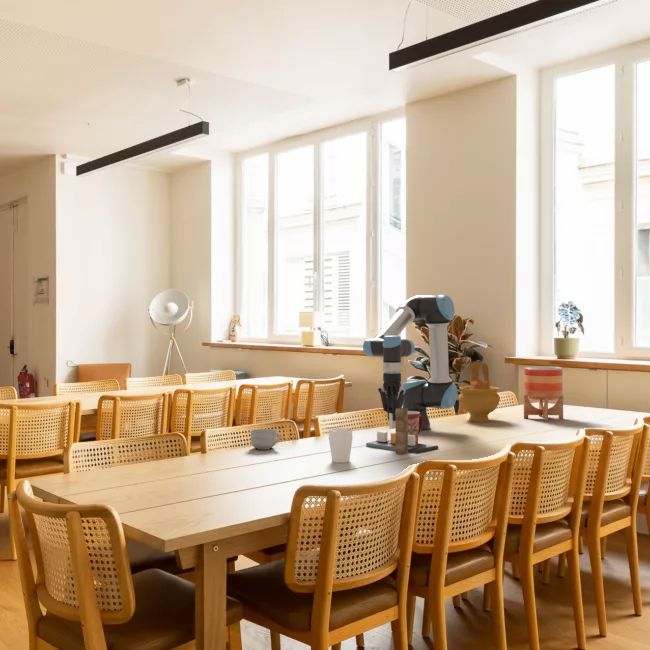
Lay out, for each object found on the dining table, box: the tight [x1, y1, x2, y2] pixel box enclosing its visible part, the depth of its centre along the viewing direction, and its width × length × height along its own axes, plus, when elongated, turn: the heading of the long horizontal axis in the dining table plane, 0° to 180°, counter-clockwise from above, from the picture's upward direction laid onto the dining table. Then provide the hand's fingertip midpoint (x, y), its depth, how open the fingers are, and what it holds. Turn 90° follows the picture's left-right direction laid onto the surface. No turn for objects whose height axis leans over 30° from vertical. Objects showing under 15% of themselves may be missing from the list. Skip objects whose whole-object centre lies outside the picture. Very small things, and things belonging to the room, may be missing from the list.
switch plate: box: [365, 439, 427, 454], centre depth 299 cm, size 12×22×2 cm, turn 50°
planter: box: [523, 365, 564, 423], centre depth 375 cm, size 20×20×27 cm
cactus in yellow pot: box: [457, 362, 501, 423], centre depth 371 cm, size 21×21×30 cm
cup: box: [328, 427, 353, 464], centre depth 273 cm, size 9×9×12 cm
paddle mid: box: [390, 432, 396, 444], centre depth 299 cm, size 2×4×4 cm, turn 50°
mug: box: [408, 411, 423, 444], centre depth 309 cm, size 13×9×14 cm
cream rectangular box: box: [408, 435, 415, 446], centre depth 295 cm, size 2×4×4 cm, turn 50°
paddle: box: [376, 430, 389, 442], centre depth 304 cm, size 2×4×4 cm, turn 50°
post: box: [395, 407, 408, 456], centre depth 286 cm, size 4×4×18 cm
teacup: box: [250, 428, 282, 450], centre depth 298 cm, size 14×11×8 cm
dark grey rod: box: [413, 444, 439, 454], centre depth 291 cm, size 14×1×1 cm, turn 132°
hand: (392, 428), depth 300 cm, fingers closed
